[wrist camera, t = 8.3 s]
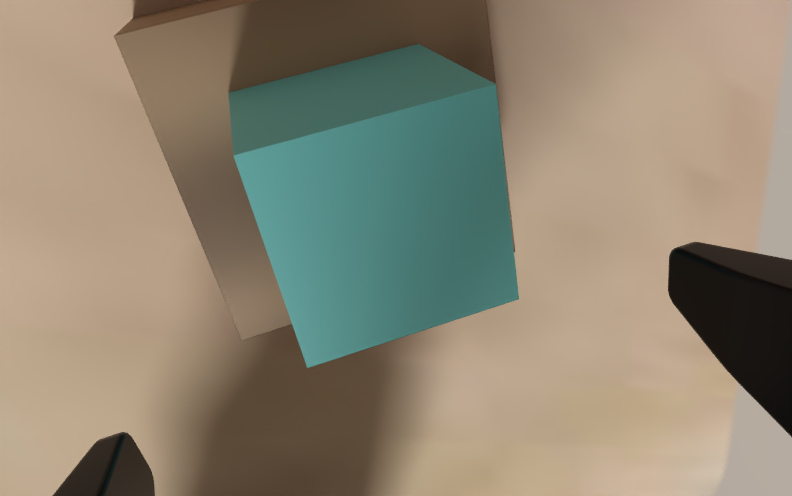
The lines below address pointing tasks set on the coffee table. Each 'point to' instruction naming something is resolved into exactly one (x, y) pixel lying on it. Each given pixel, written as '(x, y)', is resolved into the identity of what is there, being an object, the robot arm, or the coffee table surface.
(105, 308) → the coffee table surface
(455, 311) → the teal cube
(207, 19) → the walnut block
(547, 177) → the coffee table surface
